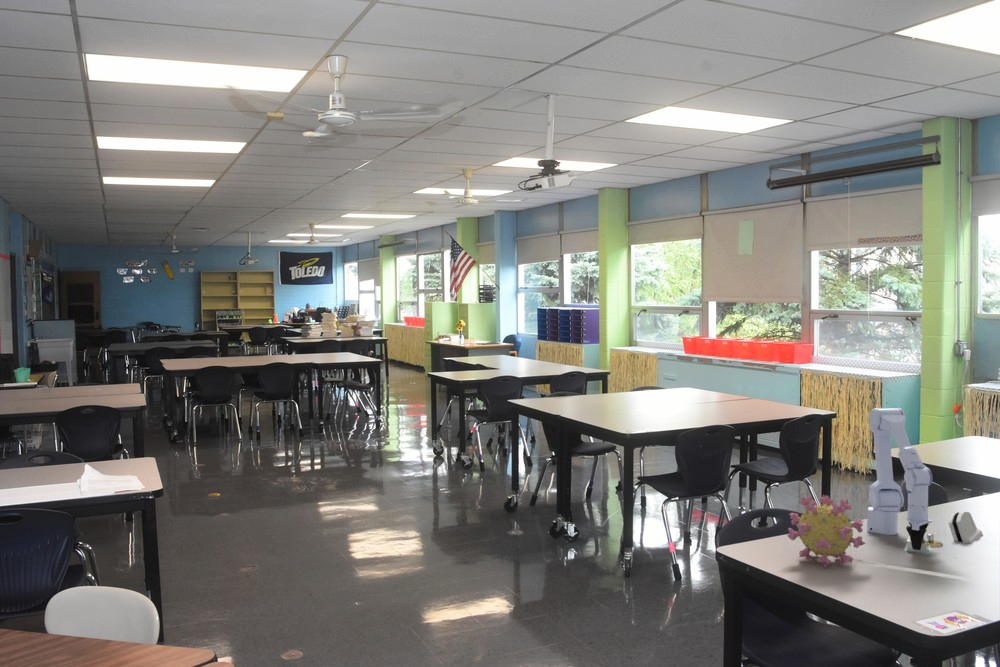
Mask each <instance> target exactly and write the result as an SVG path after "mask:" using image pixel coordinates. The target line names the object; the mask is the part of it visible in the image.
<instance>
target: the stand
mask: <svg viewBox="0 0 1000 667" xmlns="http://www.w3.org/2000/svg"><path fill="white" fill-rule="evenodd" d="M931 548H932V547H931ZM931 548H930V547H928V550H927V553H922V552H915V551H908V550H907V544H906V545H905V547H904V550H903V551H905V552H911V553H917V554H925V555H930V551H931Z"/></svg>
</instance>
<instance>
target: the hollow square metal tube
mask: <svg viewBox="0 0 1000 667" xmlns="http://www.w3.org/2000/svg"><path fill="white" fill-rule="evenodd" d="M906 545H907V550H908V551H907V552H910V551H915V552H914V553H916V552H922V553H921V554H923V553H927V550H928V548H929V546H928V539H927V538H923V539H922V545H921V549H920V550H915V549H913V548H912V544H911V539H910V536H907V539H906Z"/></svg>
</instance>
